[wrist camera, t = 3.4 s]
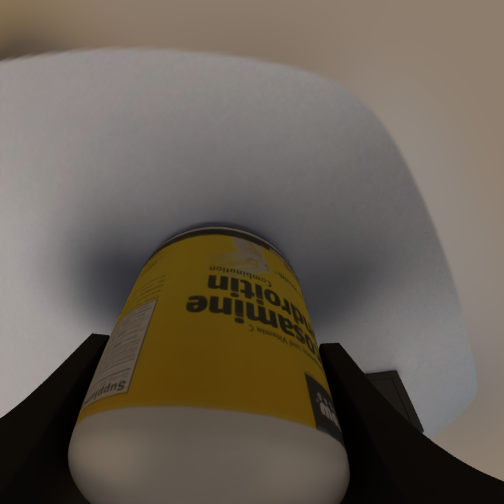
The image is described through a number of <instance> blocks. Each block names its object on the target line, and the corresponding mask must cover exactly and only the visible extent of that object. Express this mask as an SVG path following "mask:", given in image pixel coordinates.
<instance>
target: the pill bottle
mask: <svg viewBox="0 0 504 504" xmlns="http://www.w3.org/2000/svg"><path fill="white" fill-rule="evenodd" d="M68 464H69V469H70V472H71V475H72V478H73V480H74V482H75V484H76V486H77V487H78V489H79V490H80V492H81V493H82V494H83V496H84V497H85V498H86V499H87V500H88V502H89V503H90V504H340V502H341V501H342V499H343V498H344V496H345V494H346V491H347V488H348V485H349V480H350V469H349V463H348V457H347V451H346V447H345V444H344V440H343V436H342V432H341V429H340V425H339V421H338V418H337V416H336V411H335V408H334V404H333V400H332V397H331V393H330V390H329V386H328V382H327V379H326V375H325V372H324V368H323V365H322V361H321V357H320V354H319V350H318V346H317V342H316V339H315V335H314V332H313V328H312V325H311V322H310V318H309V315H308V312H307V308H306V305H305V301H304V298H303V294H302V291H301V288H300V285H299V282H298V279H297V277H296V275H295V273H294V271H293V269H292V267H291V266H290V264H289V262H288V261H287V260H286V259H285V257H284V256H283V255H282V254H281V253H280V252H279V251H278V250H277V249H276V248H275V247H273V246H272V245H271V244H269V243H268V242H266V241H265V240H263V239H261V238H259V237H258V236H255V235H253V234H251V233H248V232H245V231H242V230H238V229H233V228H226V227H205V228H199V229H193V230H190V231H187V232H184V233H181V234H179V235H177V236H175V237H173V238H171V239H170V240H168V241H167V242H165V243H164V244H163V245H161V246H160V247H159V248H158V249H157V250H156V251H155V252H154V253H153V254H152V255H151V256H150V258H149V259H148V261H147V262H146V264H145V265H144V267H143V269H142V271H141V272H140V274H139V276H138V279H137V281H136V283H135V285H134V287H133V289H132V291H131V293H130V295H129V297H128V299H127V301H126V303H125V305H124V308H123V310H122V312H121V314H120V316H119V318H118V320H117V323H116V325H115V327H114V329H113V331H112V334H111V336H110V338H109V340H108V342H107V345H106V347H105V349H104V352H103V354H102V357H101V359H100V361H99V364H98V366H97V369H96V371H95V374H94V376H93V379H92V381H91V384H90V387H89V389H88V392H87V394H86V397H85V399H84V402H83V404H82V407H81V410H80V413H79V416H78V419H77V422H76V424H75V427H74V430H73V433H72V437H71V440H70V444H69V450H68Z"/></svg>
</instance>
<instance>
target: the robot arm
mask: <svg viewBox="0 0 504 504" xmlns="http://www.w3.org/2000/svg"><path fill="white" fill-rule="evenodd" d="M109 338H110V336H109V335H101V334H93V333H92V334H91V335H90V336H89V337H88V338H87V339H86V340H85V341H84V342H83V343H82V344H81V345H80V346H79V347H78V348H77V349H76V350H75V351H74V352H73V353H72V354H71V355H70V356H69V357H68V358H67V359H66V360H65V361H64V362H63V363H62V364H61V365H60V366H59V367H58V368H57V369H56V370H55V371H54V372H53V373H52V374H51V375H50V376H49V377H48V378H47V379H46V380H45V381H44V382H43V383H42V384H41V385H40V386H39V387H38V388H37V389H36V390H34V391H33V392H32V393H31V394H30V395H29V396H28V397H27V398H26V399H24V400H23V401H22V402H21V403H20V404H18V405H17V406H16V407H15V408H13V409H12V410H11V411H10V412H8V413H7V414H6V415H4V416H3V417H2V418H0V504H90V503H89V502H88V500H87V499H86V498H85V497H84V496H83V494H82V493H81V492H80V490H79V489H78V487H77V486H76V484H75V482H74V480H73V478H72V475H71V472H70V469H69V464H68V450H69V444H70V440H71V437H72V433H73V430H74V427H75V424H76V422H77V419H78V416H79V413H80V410H81V407H82V404H83V402H84V399H85V397H86V394H87V392H88V389H89V387H90V384H91V381H92V379H93V376H94V374H95V371H96V369H97V366H98V364H99V361H100V359H101V357H102V354H103V352H104V349H105V347H106V345H107V342H108V340H109ZM319 354H320V357H321V361H322V365H323V368H324V372H325V375H326V379H327V382H328V386H329V390H330V393H331V397H332V400H333V404H334V408H335V411H336V416H337V418H338V421H339V425H340V429H341V432H342V436H343V440H344V444H345V447H346V451H347V457H348V463H349V469H350V480H349V485H348V488H347V491H346V494H345V496H344V498H343V499H342V501H341V502H340V504H504V481H502V480H499V479H497V478H494V477H492V476H490V475H487V474H485V473H483V472H481V471H479V470H477V469H475V468H473V467H471V466H469V465H467V464H466V463H464V462H462V461H460V460H459V459H457V458H456V457H454V456H453V455H451V454H450V453H448V452H447V451H445V450H444V449H442V448H441V447H439V446H438V445H436V444H435V443H433V442H432V441H431V440H430V439H429V438H427V437H426V436H425V435H424V434H422V433H421V432H420V431H419V430H418V429H417V428H415V427H414V426H413V425H412V424H411V423H410V422H409V421H407V420H406V419H405V418H404V417H403V416H402V415H401V414H400V413H399V412H398V411H397V410H396V409H395V408H394V407H393V406H392V405H391V404H390V403H389V401H388V400H387V399H386V398H385V397H384V396H383V395H382V394H381V393H380V392H379V390H378V389H377V388H376V387H375V386H374V385H373V384H372V382H371V381H370V380H369V379H368V378H367V377H366V375H365V374H364V373H363V372H362V371H361V369H360V368H359V367H358V366H357V364H356V363H355V362H354V361H353V359H352V358H351V357H350V356H349V354H348V353H347V352H346V351H345V349H344V348H343V347H342V346H341V345H340V343H323V344H320V347H319Z"/></svg>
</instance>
